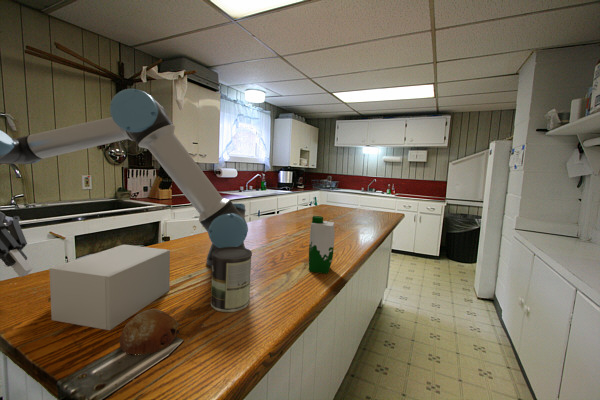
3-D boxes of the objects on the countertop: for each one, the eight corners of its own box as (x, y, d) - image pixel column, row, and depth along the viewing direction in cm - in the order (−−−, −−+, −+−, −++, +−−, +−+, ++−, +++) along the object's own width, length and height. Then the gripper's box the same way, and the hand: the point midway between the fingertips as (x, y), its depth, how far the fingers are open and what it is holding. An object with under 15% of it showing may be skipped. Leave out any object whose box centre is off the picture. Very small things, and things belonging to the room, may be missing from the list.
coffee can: (204, 311, 68) (205, 256, 66) (218, 292, 78) (219, 245, 76) (244, 314, 67) (247, 259, 66) (253, 295, 78) (255, 247, 76)
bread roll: (146, 341, 61) (130, 310, 59) (189, 323, 61) (173, 292, 60) (121, 374, 51) (101, 338, 50) (172, 352, 51) (153, 316, 50)
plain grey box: (169, 290, 77) (169, 250, 76) (109, 330, 58) (108, 276, 56) (123, 283, 80) (123, 244, 78) (51, 319, 60) (49, 268, 59)
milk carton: (309, 264, 106) (313, 214, 104) (332, 267, 105) (336, 216, 102) (305, 272, 98) (309, 218, 96) (330, 275, 96) (335, 220, 94)
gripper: (-6, 207, 75) (46, 272, 75) (-78, 214, 63) (-16, 292, 62) (8, 190, 74) (61, 256, 73) (-62, 194, 61) (1, 273, 60)
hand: (26, 272), depth 67 cm, fingers closed
